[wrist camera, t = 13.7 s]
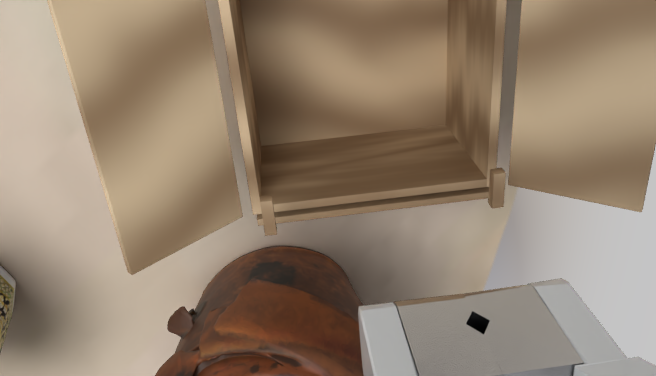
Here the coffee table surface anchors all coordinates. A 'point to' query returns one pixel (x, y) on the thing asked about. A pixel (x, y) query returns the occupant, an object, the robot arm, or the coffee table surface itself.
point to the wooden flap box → (365, 103)
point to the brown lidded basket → (271, 320)
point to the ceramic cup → (6, 302)
